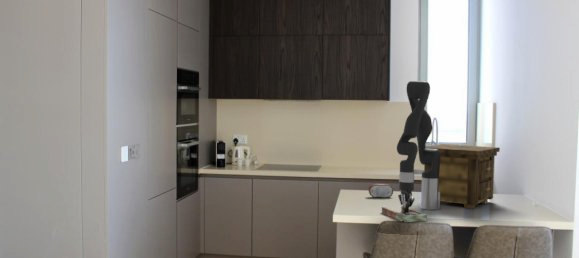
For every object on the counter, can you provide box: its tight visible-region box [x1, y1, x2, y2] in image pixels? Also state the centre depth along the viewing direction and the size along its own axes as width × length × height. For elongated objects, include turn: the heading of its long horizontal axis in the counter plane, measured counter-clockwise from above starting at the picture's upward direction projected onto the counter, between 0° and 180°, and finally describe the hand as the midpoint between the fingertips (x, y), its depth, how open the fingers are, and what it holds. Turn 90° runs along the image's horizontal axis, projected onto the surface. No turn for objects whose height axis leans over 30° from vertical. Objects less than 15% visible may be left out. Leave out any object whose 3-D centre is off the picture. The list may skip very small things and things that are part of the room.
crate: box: [423, 143, 500, 209], centre depth 336 cm, size 35×35×33 cm
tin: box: [368, 183, 394, 198], centre depth 352 cm, size 15×3×8 cm, turn 92°
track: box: [381, 205, 428, 223], centre depth 293 cm, size 13×24×3 cm, turn 17°
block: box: [405, 212, 419, 215], centre depth 285 cm, size 5×5×4 cm
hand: (405, 214), depth 292 cm, fingers closed
